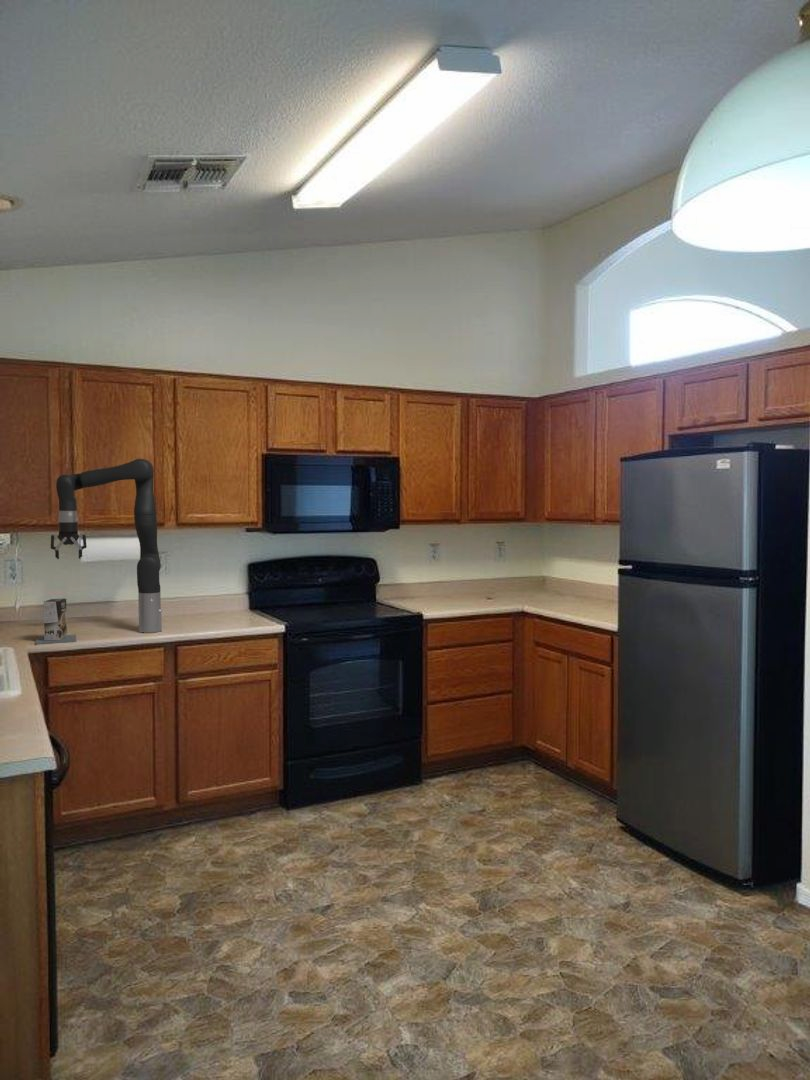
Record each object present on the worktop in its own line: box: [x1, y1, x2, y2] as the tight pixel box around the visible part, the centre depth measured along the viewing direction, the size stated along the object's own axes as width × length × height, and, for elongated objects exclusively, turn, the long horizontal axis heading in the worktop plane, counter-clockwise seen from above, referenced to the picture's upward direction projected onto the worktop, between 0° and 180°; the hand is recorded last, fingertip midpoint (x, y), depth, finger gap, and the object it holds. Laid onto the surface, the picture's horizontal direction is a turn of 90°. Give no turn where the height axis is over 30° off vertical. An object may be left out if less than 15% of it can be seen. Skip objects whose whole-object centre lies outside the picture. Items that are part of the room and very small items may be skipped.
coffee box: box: [43, 598, 68, 641], centre depth 321 cm, size 9×6×16 cm
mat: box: [35, 634, 77, 645], centre depth 322 cm, size 15×14×1 cm
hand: (68, 558), depth 337 cm, fingers open, 8 cm apart
